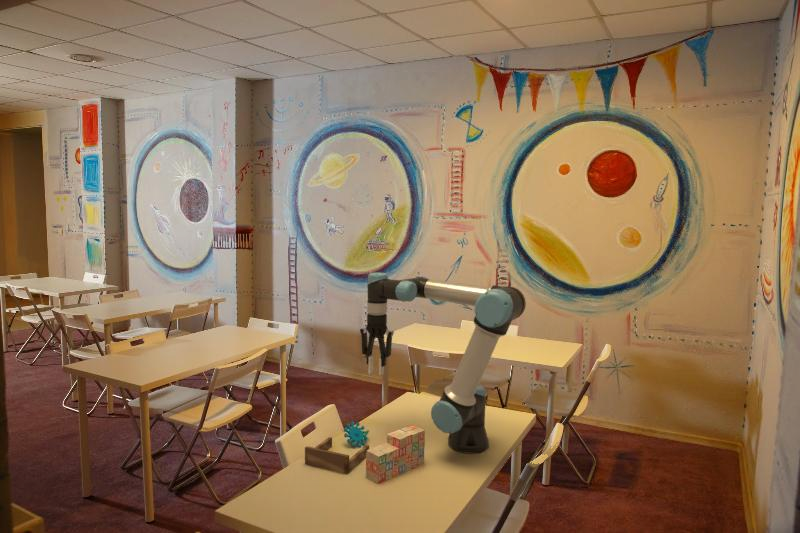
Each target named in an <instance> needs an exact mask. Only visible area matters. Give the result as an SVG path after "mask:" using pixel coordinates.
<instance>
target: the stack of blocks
mask: <svg viewBox="0 0 800 533" xmlns="http://www.w3.org/2000/svg"><path fill="white" fill-rule="evenodd" d="M425 431H426V430H425V429H424V428H423V429H422V428H420V427H418V426H415V425H412V424H411V425H409V426H405V427H402V428H400V429H397V430H394V431H392V432H389V433H387V434H386V442H385V443H384V444H379V445H377V446H375V447H372V448H369V450H367V453H366V458H365V459H366V460H365V477H366V478H367V479H369V480H370V481H372V482H374V483H376V484H378V485H379V484H381V483H383V482H384V481H388V480H390V479H393V478H394V477H397V476H400V475H402V474H403V473H406V472H408V471H411V470H413V469H416V468H418V467H420V466H423V465H424V464H425V444H426V439H425V435H426V434H425V433H426V432H425Z"/></svg>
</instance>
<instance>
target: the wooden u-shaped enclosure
mask: <svg viewBox="0 0 800 533" xmlns="http://www.w3.org/2000/svg"><path fill="white" fill-rule="evenodd" d="M332 447H333V437H331V436H330V437H327V438H326V439H325V440H323V441H322V442H321V443H319V444H317V445H316V446H315V447H313V446H307V445H306V446H305V447H304V465H305V466H311V467H315V468H319V469H324V470H327V471H331V472H337V473H340V474H345V475H348V474H350V472H352V471H353V470H354V469H355V468H356V467H357V466H359V465H360V464H361V462H363V461H364V460H365V459H366V453H367V450H369V449H370V444H365V445H363V447H362V448H360V450H358V451H357V452H356V453H355V454H353V455H352V456H351V457H350V455H349V454H344V453H340V452H336V451H330V449H331V448H332Z"/></svg>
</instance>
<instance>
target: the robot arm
mask: <svg viewBox="0 0 800 533" xmlns="http://www.w3.org/2000/svg"><path fill="white" fill-rule="evenodd" d="M366 285H367V286H366V287H367V305H366V312H367V314H366V324H367V325H366V326H365V327H362V328H360V330H359V332H360V334H361V353H362V355H365V356H366V365H368V370H367V371H368V372H367V373H368V374H369V375H370V374H372V373H374V355H373V351H374V350H373V348H374V344H375V340H376V339H377V342H378V345H379V352H380V357H379V358H378V376H381V375H384V370H385V366H386V365H387V358H389V357H390V356H392V344H393V343H392V342H393V337H394V334H395V332H394V331H393V330H389V329H388V326H387V323H388V314H387V312H388V300H391V301H400V302H403V303H405V302H408V303H409V302H413V301H414V300H415V298H423V299H429V300H434V301H435V300H436V301H440V302H447V303H453V304H457V305H458V304H459V305H463V306H464V305H465V306H470V307H474V314H475V316H474V318H473V324H474V326H475V328H474V330H473V332H472V334H471V337H470V339H469V341H468V344H467V346H466V349H465V351H464V353H463V355H462V358H461V360H460V363H459V365H458V367H457V369H456V372H455V374H454V377H453V379H452V382H451V383H450V384H449V385H446V386H445V387H444V390H443V391H442V394H441V396H440V399H439V400H437V401H436V402H435V403H434V404H433V405H432V407H431V411H430V416H431V420H432V422H433V425H434V426H435V427H436V429H438V430H439V431H440V432H442V433H445V434H449V435H448V438H447V441H448V442H447V444H448V446H449V447H450V448H451V449H452V450H455V451H456V452H460V453H465V454H478V453H477V452H479V453H483V452H485V451H487V450H488V449H489V447H488V446H489V444H490V443H489V442H490V441H489V437H488V434H487V429H486V427H485V425H486V423H485V421H486V401H487V400H486V399H487V391H486V388H485V387H484V386H482V385H481V384H480V382H481V380H482V378H483V375H484V373H485V371H486V369H487V367H488V365H489V362H490V360H491V358H492V355H493V353H494V350H495V349H496V347H497V344H498V341H499V339H500V338H501V337H503V336H507V332H508V331H509V328H510V326H511V324H512V322H513V321H514V320H516V319H518V318H520V317H521V316H522V315H523V313H524V311H525V310H526V306H527V305H526V304H527V302H526V298H525V296H524V294H523V292H522V291H521V290H520V289H519V288H516V287H515V286H509V285H508V286H506V285H504V286H503V285H494V284H493V285H491V286H490V287H487V286H482V285H474V284H466V283H461V282H460V283H459V282H452V281H447V280H446V281H445V280H440V279H437V280H436V279H431V278H428V277H426V276H417V277H413V278H412V277H411V278H406V279H390V278H389V276H388V274H387V273H386V272H370V273H369V274H368V275H367V284H366ZM368 334H369V337H368ZM385 336H386V341H385ZM487 448H488V449H487ZM486 449H487V450H486ZM484 450H485V451H484ZM482 451H483V452H482Z"/></svg>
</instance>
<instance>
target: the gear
mask: <svg viewBox="0 0 800 533" xmlns="http://www.w3.org/2000/svg"><path fill="white" fill-rule="evenodd" d="M354 425H355V426H354ZM359 426H361V423H360V422H359V421H358V422H356V423H355V421H351V422H350V423H346V424H345V428H344V429H343V431H344V432H345V433H344V434H343V437H344V438H348V439H346V442H347V443H348V444H349V443H351V442H352V443H351V446H352V447H354V448H355V447H356V446H357V447H358V448H361V447H362V446H365V445H367V441H368V440H369V437H368V434H369V433H370V430H369V429H367V430H365V429H366V428H365V426H364V425H362V426H361V427H359ZM357 443H358V444H357Z"/></svg>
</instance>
